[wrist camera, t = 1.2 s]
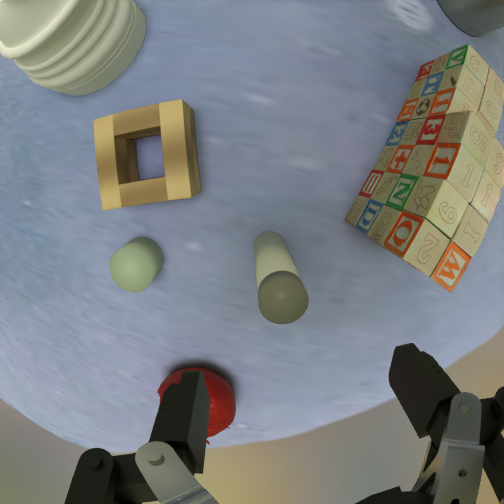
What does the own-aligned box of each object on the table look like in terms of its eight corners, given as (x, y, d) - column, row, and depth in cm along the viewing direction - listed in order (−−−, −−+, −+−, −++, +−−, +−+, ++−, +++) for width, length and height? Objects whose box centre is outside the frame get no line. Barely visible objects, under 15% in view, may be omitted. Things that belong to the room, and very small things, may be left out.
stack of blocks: (420, 63, 22) (489, 34, 11) (456, 97, 23) (528, 85, 12) (342, 220, 28) (402, 260, 16) (386, 248, 29) (453, 296, 17)
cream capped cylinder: (252, 232, 28) (257, 282, 16) (283, 230, 28) (308, 277, 16) (254, 261, 29) (260, 326, 17) (284, 259, 29) (308, 321, 17)
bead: (121, 239, 28) (105, 250, 24) (159, 234, 28) (146, 245, 24) (129, 277, 29) (115, 293, 25) (166, 275, 29) (156, 291, 25)
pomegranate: (213, 346, 32) (205, 401, 23) (250, 398, 35) (252, 452, 26) (148, 369, 33) (127, 420, 24) (189, 416, 36) (180, 466, 27)
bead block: (117, 125, 24) (93, 120, 19) (193, 110, 24) (181, 99, 19) (125, 201, 27) (102, 210, 22) (201, 191, 27) (191, 197, 22)
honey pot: (167, 4, 20) (106, -100, 3) (113, 105, 24) (-17, 67, 6) (81, -1, 18) (1, -60, 1) (36, 88, 22) (-75, 70, 5)
